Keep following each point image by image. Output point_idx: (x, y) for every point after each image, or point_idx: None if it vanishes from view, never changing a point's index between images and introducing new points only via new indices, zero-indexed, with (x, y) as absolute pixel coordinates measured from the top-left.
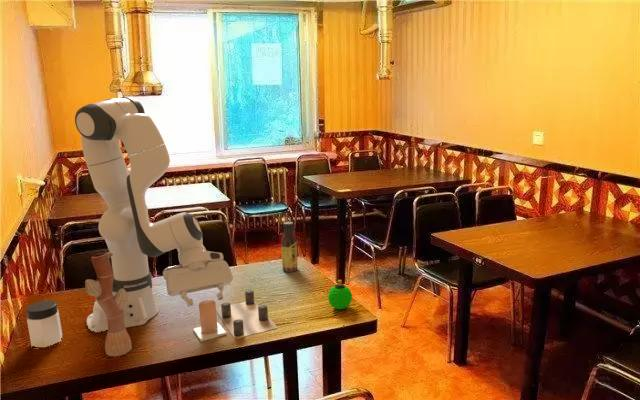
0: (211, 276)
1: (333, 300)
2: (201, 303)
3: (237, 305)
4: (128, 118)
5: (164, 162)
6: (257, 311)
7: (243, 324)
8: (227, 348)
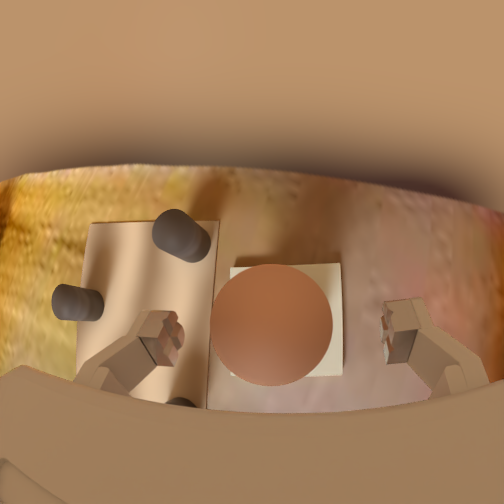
0: (95, 470)
1: None
2: (306, 348)
3: None
4: None
5: None
6: None
7: (152, 309)
8: (264, 171)
